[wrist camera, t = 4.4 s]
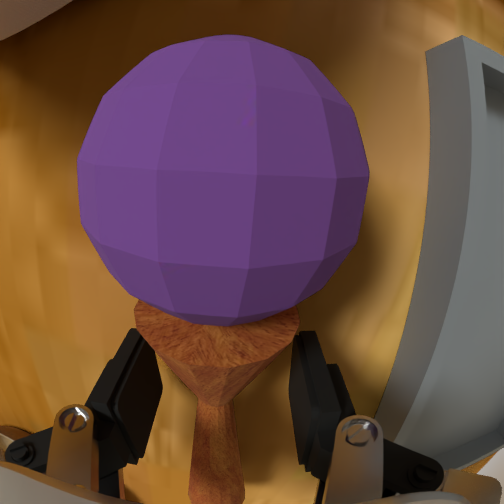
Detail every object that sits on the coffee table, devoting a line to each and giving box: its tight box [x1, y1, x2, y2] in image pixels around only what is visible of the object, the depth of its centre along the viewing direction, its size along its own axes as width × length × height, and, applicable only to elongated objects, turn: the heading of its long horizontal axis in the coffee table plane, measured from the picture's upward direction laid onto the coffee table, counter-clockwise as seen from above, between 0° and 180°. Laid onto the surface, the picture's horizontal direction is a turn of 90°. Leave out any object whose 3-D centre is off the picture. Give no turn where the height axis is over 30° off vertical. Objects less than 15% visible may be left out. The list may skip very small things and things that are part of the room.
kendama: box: [77, 35, 369, 504], centre depth 9 cm, size 6×6×20 cm
